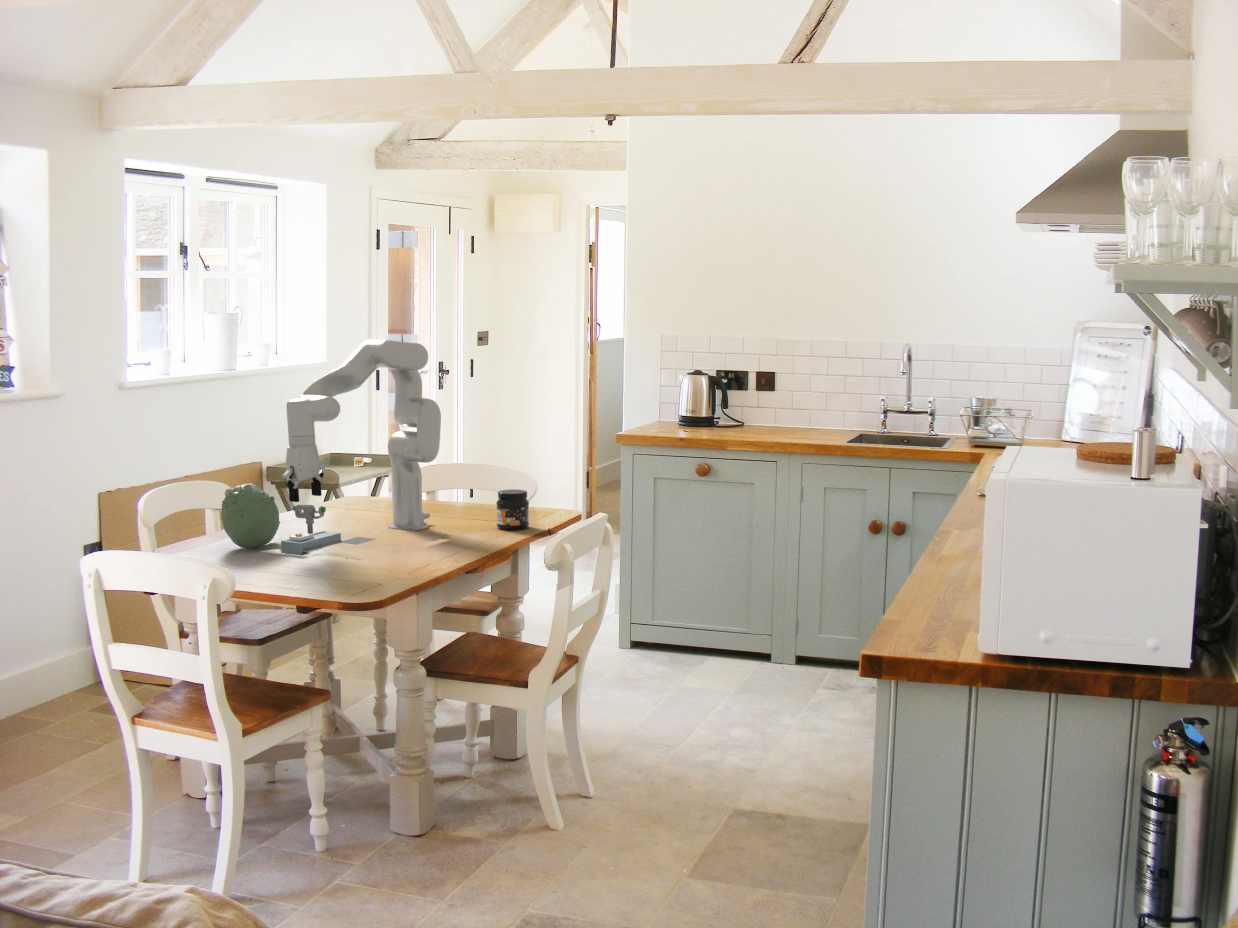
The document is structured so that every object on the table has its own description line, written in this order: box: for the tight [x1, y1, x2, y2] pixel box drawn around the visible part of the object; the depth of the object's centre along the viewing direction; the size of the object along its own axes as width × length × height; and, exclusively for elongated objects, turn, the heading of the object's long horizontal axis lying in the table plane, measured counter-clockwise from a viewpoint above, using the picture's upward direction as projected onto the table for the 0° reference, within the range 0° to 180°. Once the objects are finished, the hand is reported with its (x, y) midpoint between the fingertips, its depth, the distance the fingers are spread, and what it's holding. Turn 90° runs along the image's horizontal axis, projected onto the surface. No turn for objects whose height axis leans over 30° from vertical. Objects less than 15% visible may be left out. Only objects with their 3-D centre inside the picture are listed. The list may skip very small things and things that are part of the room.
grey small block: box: [288, 532, 314, 542], centre depth 351 cm, size 6×4×3 cm, turn 153°
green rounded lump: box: [220, 481, 281, 550], centre depth 354 cm, size 16×19×20 cm
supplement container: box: [496, 488, 530, 531], centre depth 388 cm, size 10×10×12 cm
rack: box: [280, 530, 342, 556], centre depth 356 cm, size 18×8×4 cm, turn 153°
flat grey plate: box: [339, 536, 375, 545], centre depth 362 cm, size 9×7×1 cm
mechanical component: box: [292, 504, 327, 534], centre depth 372 cm, size 3×10×10 cm, turn 78°
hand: (305, 498), depth 352 cm, fingers open, 9 cm apart
